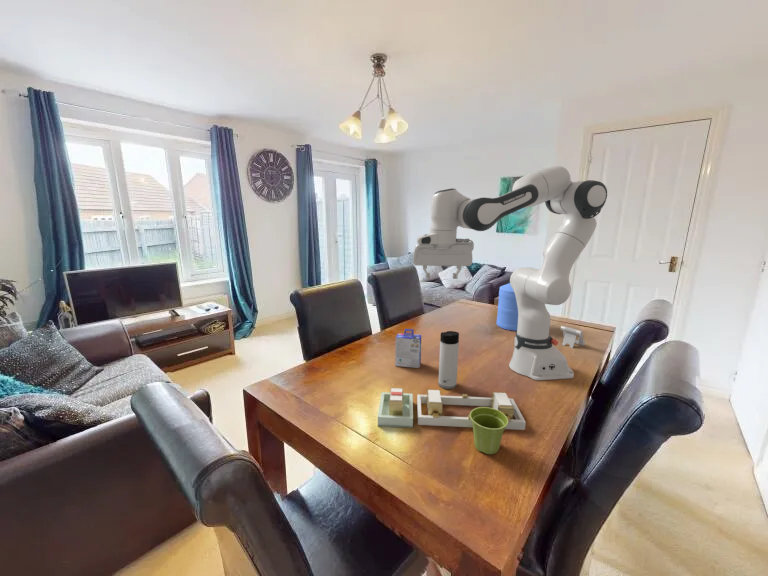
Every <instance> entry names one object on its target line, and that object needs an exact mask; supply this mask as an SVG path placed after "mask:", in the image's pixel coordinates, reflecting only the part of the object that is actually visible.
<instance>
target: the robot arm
mask: <svg viewBox="0 0 768 576" xmlns="http://www.w3.org/2000/svg"><path fill="white" fill-rule="evenodd" d="M511 189H512V190H511V191H509V192H506V193H504V194H501V195H500V196H497V197H494V198H493V197H479V198H470V197H467V196H465V195H464V194H462V193H461V192H459V191H458V189H456V188H453V187H451V188H447V189H443V190H437V191H436V192H434V194H433V196H432V198H431V199H432V200H431V208H430V220H431V225H430V228H429V231H430V232H429V233H427V234H426V233H425V234H423V235H421V236H418V237H417V239H416V243H417V244H416V245H415V246H414V249H413V254H412V255H413V256H412V257H413V258H412V264H413V265H414V266H422V270H423V272H424V274H425V279H431V272H428V271H427V269H428V266H430V267H433V266H434V267H440V266H441V267H455V268H456V271H455V272H453V273H452V279H453V280H458V276H459V275H458V274H460V272H461V270H462V267H470V266H472V264H473V250H474V248H475V243H474V241H473V240H472V239H470V238H457V233H458V232H457V231H458V227H459V228H463V229H467V230H473V231H476V232H485V231H488V230H489V229H491V228H492V227H493V226H495V224H497V222H499V221H500V220H501V219H503V218H504V217H506V216H508V215H511V214H513V213H515V212H517V211H519V210H522V209H525V208H531V207H534V206H538V205H540V204H543V203H545V206H546V209H547V210H548V211H549V212H551V213H553V214H556V215H563V216H564V217H563V221H562V223H561V225H560V226H559V227H558V229H557V230H556V231H555V232H554V234H553V235H552V237H551V238H550V240H549V241H548V243H546V246H544V248H543V250H542V255H543V258H544V260H543V264H542V266H541V267H540V269H538V268H534V267H519V268H516V269H515V270H514V271H512V273H511V275H510V278H509V283H510V284H511V287H512V288H513V290H514V292H515V296H516V301H517V306H518V326H517V331H515V336H514V344H513V345H514V348H513V353H512V356H511V359H510V361H509V363H508V366H509V368H510V369H511V370H512V371H514V372H515V373H517V374H519V375H521V376H522V375H523V376H525V377H529V378H531V379H532V380H534V381H547V380H566V379H573V378H574V375H575V373H574V371H573V370H572V368H571V367H570V366H569V365H568V361H567V358H566V356H565V355H564V354H563V353H562V352H561V351H560V350H559V349H558V348H556V347H555V346H558V345H559V341H558V340H557V339H556V338H554V337H552V336H551V335H550V328H551V327H550V326H551V320H552V319H551V314H550V312H549V311H548V309H547V307H546V305H551V306H560V305H562V304H564V303H566V301H568V299H569V298H570V295H571V292H572V287H571V283H570V279H569V278H570V273H571V270H572V268H573V266H574V264H575V262H576V261H577V260H578V258H579V256H580V255H581V253H582V252H583V250H585V248H586V247H587V245H588V243H589V242H590V240H591V239H592V236H593V234H594V232H595V231H596V228H597V224H598V223H597V219H596V218H595V217H597V216H598V215H599V214H600V213H601V211H602V209H603V207H604V206H605V204H606V202H607V199H608V198H607V197H608V189H607V187H606V185H605V184H604V183H603V182H601V181H600V180H599V181H598V180H591V179H589V180H584V181H583V180H581V181H572V180H571V173H570V172H569V171H568V169H567V168H566V167H564V166H561V165H555V166H550V167H545V168H541V169H537V170H535V171H532V172H530V173H527V174H525V175H523V176H522V177H519V178H518V179H516V180H515V181H514V183H513V185H512V188H511Z"/></svg>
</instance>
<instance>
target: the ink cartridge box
mask: <svg viewBox="0 0 768 576" xmlns="http://www.w3.org/2000/svg"><path fill="white" fill-rule="evenodd" d="M414 330H415V329H412V328H411V329H410V328H405V329H404V333H397V334H396V336H395V351H394V352H395V355H394V356H395V363H394V364H395V365H394V366H395V367H403V368H404V367H405V368H414V369H415V368H416V369H419V368H420V366H421V364H422V363H421V362H422V361H421V360H422V334H418V333H417V334H415V333H414V332H415V331H414Z"/></svg>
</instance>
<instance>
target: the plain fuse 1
mask: <svg viewBox="0 0 768 576" xmlns="http://www.w3.org/2000/svg"><path fill="white" fill-rule="evenodd" d="M426 395H427V404H426V407H427V415H430V416H433V413H438V415H439V416H443V404H442V402H441V396H442V395H441V390H440V389H429V388H428V389H427V391H426Z"/></svg>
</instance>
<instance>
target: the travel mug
mask: <svg viewBox="0 0 768 576" xmlns="http://www.w3.org/2000/svg"><path fill="white" fill-rule="evenodd" d="M459 338H460V333H459V332H458V331H453V330H448V331H443V332H440V338H439V340H440V341H439V360H438V361H439V364H438V382H437V385H438V386H439V387H441V388H442V389H445V390H452V389H455V388H456V387H457V379H458V363H459V361H458V360H459V345H460V343H459V342H460V341H459Z"/></svg>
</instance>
